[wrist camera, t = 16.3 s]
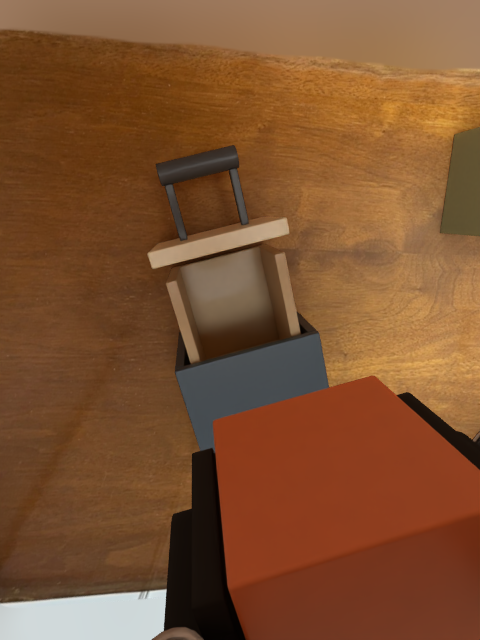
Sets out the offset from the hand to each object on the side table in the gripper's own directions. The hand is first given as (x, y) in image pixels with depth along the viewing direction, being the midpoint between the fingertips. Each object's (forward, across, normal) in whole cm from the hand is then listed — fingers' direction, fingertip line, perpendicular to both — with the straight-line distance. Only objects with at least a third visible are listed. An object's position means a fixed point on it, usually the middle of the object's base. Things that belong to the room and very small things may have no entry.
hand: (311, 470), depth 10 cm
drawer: (+26, 0, -2) cm, 26 cm away
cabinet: (+27, 0, +10) cm, 29 cm away
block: (0, 0, 0) cm, 0 cm away
